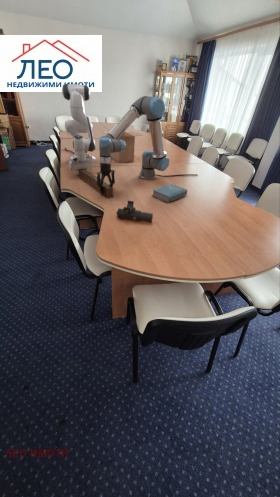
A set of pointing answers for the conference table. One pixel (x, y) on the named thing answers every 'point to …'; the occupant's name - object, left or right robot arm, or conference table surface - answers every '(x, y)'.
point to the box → (129, 150)
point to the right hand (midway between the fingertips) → (106, 193)
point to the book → (169, 193)
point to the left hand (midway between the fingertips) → (81, 173)
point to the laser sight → (133, 213)
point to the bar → (95, 182)
